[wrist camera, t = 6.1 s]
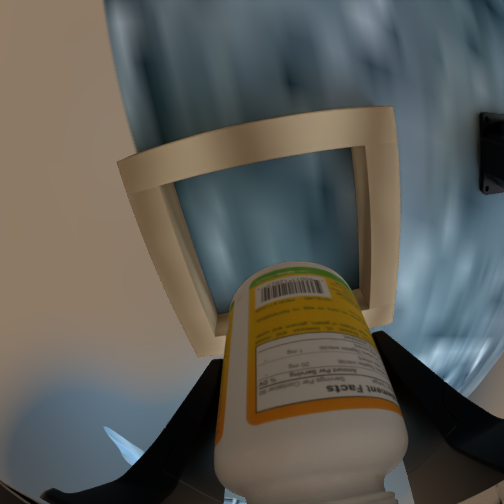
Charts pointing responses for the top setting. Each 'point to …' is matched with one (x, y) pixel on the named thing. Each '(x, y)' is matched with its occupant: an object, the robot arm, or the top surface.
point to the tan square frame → (254, 150)
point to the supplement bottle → (304, 394)
